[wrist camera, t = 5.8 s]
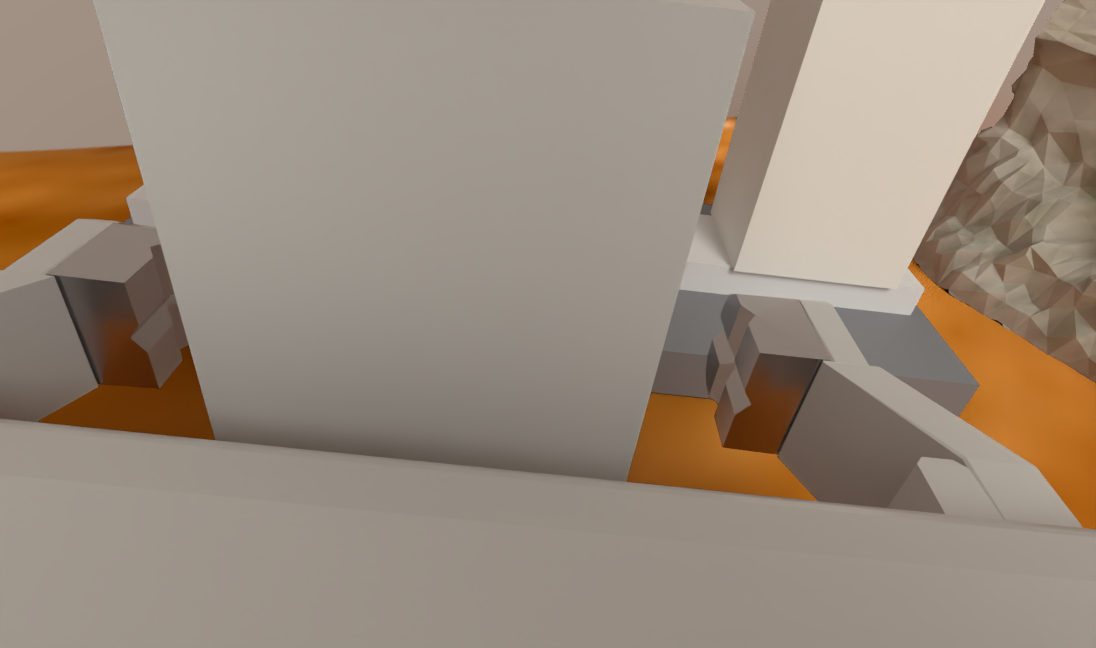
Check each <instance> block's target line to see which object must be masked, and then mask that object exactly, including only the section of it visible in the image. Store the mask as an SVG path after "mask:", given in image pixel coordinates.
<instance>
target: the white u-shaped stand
mask: <svg viewBox="0 0 1096 648" xmlns="http://www.w3.org/2000/svg"><path fill="white" fill-rule="evenodd" d="M1044 2H1045V0H771V2H770V5H769V9H768V12H767V16H766V19H765V23H764V26H763V30H762V33H761V37H760V41H759V44H758V47H757V51H756V54H755V58H754V62H753V66H752V68H751V72H750V76H749V79H748V83H747V86H746V89H745V93H744V97H743V100H742V103H741V107H740V110H739V114H738V117H737V121H736V124H735V128H734V131H733V135H732V138H731V142H730V145H729V149H728V152H727V156H726V159H725V163H724V166H723V170H722V173H721V177H720V180H719V184H718V187H717V191H716V194H715V198H714V201H713V205H709V204H703V205H702V208H701V212H700V215H699V219H698V223H697V226H696V230H695V234H694V237H693V241H692V245H691V248H690V252H689V255H688V259H687V263H686V266H685V270H684V274H683V277H682V281H681V284H680V288H679V292H678V295H677V299H676V303H675V306H674V310H673V314H672V317H671V321H670V324H669V328H668V332H667V335H666V339H665V343H664V346H663V350H662V354H661V357H660V361H659V364H658V368H657V372H656V375H655V379H654V383H653V386H652V390H651V392H653V393H662V394H672V395H681V396H691V397H700V398H710V399H712V398H711V397H710V396H709V394H708V390H707V386H706V374H705V372H706V363H707V355H708V352H709V349H710V345H711V342H712V339H713V338H714V337H716V336H717V335H718V334H719V333H721V332H722V331H723V330H724V327H723V324H722V321H721V318H720V315H721V312H722V309H723V306H724V303H725V301H726V300H727V298H728V296H729V295H730V294H743V295H754V296H766V297H777V298H788V299H799V300H812V301H826V302H828V303H829V304H831V305H833V307H834V308H835V310H836V312H837V313H838V315H839V317H840V318H841V320H842V322H843V323H844V325H845V327H846V328H847V330H848V331H849V333H850V335H851V336H852V338H853V340H854V341H855V343H856V345H857V346H858V348H859V350H860V351H861V353H862V355H863V356H864V358H865V359H866V361H867V363H868V364H869V366H877V367H881V368H882V369H884V370H885V371H887V372H888V373H890V374H892V375H893V376H895V377H896V378H898V379H899V380H901V381H903V382H904V383H906V384H907V385H909V386H910V387H912V388H913V389H915V390H917V391H918V392H920V393H921V394H923V395H924V396H926V397H928V398H929V399H931V400H932V401H934V402H935V403H937V404H938V405H940V406H942V407H943V408H945V409H946V410H948V411H949V412H951V413H953V414H954V415H956V416H957V417H959V415H960V414H961V412H962V411H963V409H964V408H965V406H966V405H967V403H968V402H969V400H970V399H971V397H972V396H973V394H974V393H975V391H976V390H977V388H978V387H979V386H980V385H979V383H978V382H977V381H976V380H975V378H974V377H973V376H972V375H971V373H970V372H969V371H968V370H967V368H966V367H965V366H964V365H963V363H962V362H961V361H960V359H959V358H958V357H957V356H956V354H955V353H954V352H953V351H952V349H951V348H950V347H949V346H948V344H947V343H946V342H945V341H944V339H943V338H942V337H941V336H940V334H939V333H938V332H937V330H936V329H935V328H934V327H933V325H932V324H931V323H930V322H929V320H928V319H927V318H926V317H925V315H924V314H923V313H922V312H921V310H920V309H919V308H918V307H917V305H916V304H917V302H918V301H919V299H920V297H921V295H922V293H923V291H924V290H925V288H924V287H923V286H922V285H921V283H920V282H919V281H918V280H917V279H916V278H915V276H914V275H913V274H912V273H911V272H910V270H909V269H908V266H909V264H910V262H911V260H912V258H913V257H914V255H915V253H916V251H917V249H918V247H919V245H920V243H921V241H922V239H923V237H924V235H925V233H926V231H927V229H928V227H929V225H930V223H931V222H932V220H933V218H934V216H935V214H936V212H937V210H938V208H939V206H940V204H941V202H942V200H943V198H944V196H945V194H946V192H947V190H948V188H949V187H950V185H951V183H952V181H953V179H954V177H955V175H956V173H957V171H958V169H959V167H960V165H961V163H962V161H963V159H964V157H965V155H966V153H967V151H968V150H969V148H970V146H971V144H972V142H973V140H974V138H975V136H976V134H977V132H978V130H979V128H980V126H981V124H982V122H983V120H984V118H985V116H986V114H987V112H988V111H989V109H990V107H991V105H992V103H993V101H994V99H995V97H996V95H997V93H998V91H999V89H1000V87H1001V85H1002V83H1003V81H1004V79H1005V78H1006V76H1007V74H1008V72H1009V70H1010V68H1011V66H1012V64H1013V62H1014V60H1015V58H1016V56H1017V54H1018V52H1019V50H1020V48H1021V46H1022V44H1023V42H1024V41H1025V38H1026V37H1027V35H1028V33H1029V31H1030V29H1031V27H1032V25H1033V23H1034V21H1035V19H1036V17H1037V15H1038V13H1039V11H1040V9H1041V8H1042V6H1043V3H1044ZM126 200H127V204H128V207H129V210H130V214H131V217H130V218H128V219H127V220H126V221H125V222H123V223H131V224H139V225H147V226H154V227H156V226H155V222H154V219H153V215H152V211H151V208H150V204H149V201H148V197H147V194H146V190H145V186H144V185H143V186H141V187H140V188H138V189H137V190H136V191H134V192H133V193H132V194H130V195H129V196H127V197H126Z"/></svg>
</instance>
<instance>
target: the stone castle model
mask: <svg viewBox="0 0 1096 648" xmlns="http://www.w3.org/2000/svg"><path fill="white" fill-rule="evenodd" d="M1012 92H1013V93H1014V99H1013V100H1012V102H1011V104H1010V105H1009V107H1008V109H1007V111H1006V112H1005V114H1004V116H1003V117H1002V118H1001V119H1000V120H999V121H998V123H997V124H996V125H995V126H994V127H989V128H987V129H984V130H981V132H980V133H979V134H978V135H977V136H976V137H975V138H974V140H973V142H972V144H971V146H970V148H969V150H968V151H967V153H966V155H965V157H964V159H963V161H962V163H961V165H960V167H959V169H958V171H957V173H956V175H955V177H954V179H953V181H952V183H951V185H950V187H949V188H948V190H947V192H946V194H945V196H944V198H943V200H942V202H941V204H940V206H939V208H938V210H937V212H936V214H935V216H934V218H933V220H932V222H931V223H930V225H929V227H928V229H927V231H926V233H925V235H924V237H923V239H922V241H921V243H920V245H919V247H918V249H917V251H916V253H915V255H914V257H913V259H914V261H915V262H916V264H919V266H920V269H921V270H922V271H923V272H924V273H925V274H926V275H927V276H928V277H929V278H930V279H931V280H932V281H933V282H934V283H936V284H937V285H938V286H939V287H940V288H943V289H949V294H950V295H952V296H953V297H955V298H956V299H958V300H960V301H962V302H964V303H966V304H968V305H969V306H970V307H972V308H973V309H975V310H977V311H978V312H980V313H981V314H983V315H985V316H987V317H988V318H990V319H993V320H997V321H999V322H1000V323H1002V324H1003V327H1005V328H1007V329H1009V330H1011V331H1012V332H1014V333H1016V334H1017V335H1019V336H1021V337H1022V338H1024V339H1025V340H1027V341H1028V342H1029V343H1031V344H1032V345H1034V346H1035V347H1037V348H1039V349H1040V350H1042V351H1043V352H1045V353H1046V354H1048V355H1049V356H1051V357H1053V358H1055V359H1057V360H1059V361H1061V362H1063V363H1065V364H1067V365H1068V366H1070V367H1071V368H1073V369H1075V370H1076V371H1078V372H1079V373H1081V374H1082V375H1084V376H1086V377H1087V378H1089V379H1090V380H1092V381H1094V382H1095V383H1096V0H1064V1H1063V2H1062V3H1061V4H1060V5H1059V6H1058V7H1057V8H1056V9H1055V11H1054V12H1053V14H1052V15H1051V16H1050V18H1049V19H1048V20H1047V23H1046V25H1045V27H1044V29H1043V30H1042V32H1041V33H1040V34H1039V35H1038V36H1037V37H1036V39H1035V47H1034V54H1033V57H1032V59H1031V60H1030V61H1029V64H1028V67H1027V70H1026V71H1025V72H1024V73H1023V74H1022V75H1021V76H1020V77H1019V78H1018V79H1017V80H1016V81H1015V82H1014V84H1013V85H1012Z"/></svg>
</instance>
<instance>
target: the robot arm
mask: <svg viewBox="0 0 1096 648" xmlns="http://www.w3.org/2000/svg"><path fill="white" fill-rule="evenodd" d="M720 318H721V321H722V324H723V327H724V330H723V331H722V332H721V333H719V334H718V335H717V336H716V337H714V338H713V339H712V342H711V345H710V349H709V352H708V355H707V363H706V372H705V374H706V386H707V390H708V394H709V396H710V397H711V398H712V399H713V400H714V401H715V402H716V403H717V404H718V406H717V409H716V412H715V415H714V417H715V421H716V425H717V429H718V432H719V436H720V440H721V443H722V447H723V448H731V449H739V450H746V451H754V452H762V453H769V454H777V455H778V456H777V457H778V458H779V459H780V460H781V461H782V463H783V464H784V465H785V466H786V467H787V468H788V469H789V470H790V471H791V472H792V473H793V474H794V476H795V477H796V478H797V479H798V480H799V481H800V482H801V483H802V484H803V485H804V486H805V487H806V488H807V490H808V491H809V492H810V493H811V494H812V495H813V496H814V497H815V498H816V499H817V500H818V501H810V500H801V499H791V498H781V497H771V496H761V495H751V494H741V493H731V492H721V491H712V490H702V489H692V488H682V487H672V486H662V485H652V484H642V483H632V482H622V481H612V480H602V479H593V478H583V477H573V476H563V475H553V474H543V473H533V472H523V471H513V470H503V469H493V468H484V467H474V466H464V465H454V464H444V463H434V462H424V461H414V460H405V459H395V458H385V457H375V456H365V455H355V454H345V453H336V452H326V451H316V450H306V449H296V448H286V447H276V446H267V445H257V444H247V443H237V442H227V441H217V440H207V439H197V438H188V437H178V436H168V435H158V434H148V433H138V432H128V431H119V430H109V429H99V428H89V427H79V426H69V425H59V424H49V423H40V422H37V421H39V420H41V419H42V418H44V417H46V416H48V415H50V414H51V413H53V412H55V411H57V410H58V409H60V408H62V407H64V406H66V405H67V404H69V403H71V402H73V401H74V400H76V399H78V398H80V397H81V396H83V395H85V394H87V393H89V392H90V391H92V390H94V389H96V388H97V387H98V386H99V385H98V384H104V385H117V386H130V387H142V388H155V389H160V387H161V386H162V385H163V384H164V382H165V381H166V380H167V379H168V377H169V376H170V375H171V374H172V373H173V371H174V370H175V369H176V368H177V366H178V365H179V364H180V363H181V361H182V360H183V358H182V355H181V351H180V349H182V348H184V347H186V346H188V345H189V344H188V340H187V337H186V333H185V330H184V326H183V322H182V319H181V315H180V312H179V308H178V304H177V301H176V297H175V294H174V290H173V287H172V283H171V279H170V276H169V272H168V269H167V265H166V262H165V258H164V254H163V251H162V247H161V244H160V240H159V236H158V233H157V229H156V227H154V226H147V225H139V224H131V223H120V222H118V221H110V220H99V219H77V220H75V221H74V222H72V223H71V224H70V225H68V226H67V227H65V228H64V229H62V230H61V231H59V232H58V233H56V234H55V235H54V236H52V237H51V238H49V239H48V240H46V241H45V242H43V243H42V244H40V245H39V246H38V247H36V248H35V249H33V250H32V251H30V252H29V253H27V254H26V255H24V256H23V257H22V258H20V259H19V260H17V261H16V262H14V263H13V264H11V265H10V266H9V267H7V268H6V269H4V270H0V648H1096V529H1087V528H1083V527H1082V525H1081V524H1080V523H1079V522H1078V520H1077V519H1076V518H1075V516H1074V515H1073V514H1072V513H1071V511H1070V510H1069V509H1068V507H1067V506H1066V505H1065V504H1064V502H1063V501H1062V500H1061V498H1060V497H1059V496H1058V494H1057V493H1056V492H1055V491H1054V489H1053V488H1052V487H1051V485H1050V484H1049V483H1048V482H1047V480H1046V479H1045V478H1044V476H1043V475H1042V474H1041V473H1040V471H1039V470H1038V469H1037V467H1035V466H1034V465H1032V464H1031V463H1029V462H1028V461H1026V460H1024V459H1023V458H1021V457H1020V456H1018V455H1017V454H1015V453H1014V452H1012V451H1010V450H1009V449H1007V448H1006V447H1004V446H1003V445H1001V444H999V443H998V442H996V441H995V440H993V439H992V438H990V437H989V436H987V435H985V434H984V433H982V432H981V431H979V430H978V429H976V428H974V427H973V426H971V425H970V424H968V423H967V422H965V421H963V420H962V419H960V418H959V417H957V416H956V415H954V414H953V413H951V412H949V411H948V410H946V409H945V408H943V407H942V406H940V405H938V404H937V403H935V402H934V401H932V400H931V399H929V398H928V397H926V396H924V395H923V394H921V393H920V392H918V391H917V390H915V389H913V388H912V387H910V386H909V385H907V384H906V383H904V382H903V381H901V380H899V379H898V378H896V377H895V376H893V375H892V374H890V373H888V372H887V371H885V370H884V369H882V368H881V367H877V366H869V364H868V363H867V361H866V359H865V358H864V356H863V355H862V353H861V351H860V350H859V348H858V346H857V345H856V343H855V341H854V340H853V338H852V336H851V335H850V333H849V331H848V330H847V328H846V327H845V325H844V323H843V322H842V320H841V318H840V317H839V315H838V313H837V312H836V310H835V308H834V307H833V305H831V304H829V303H828V302H826V301H812V300H799V299H788V298H777V297H766V296H754V295H743V294H730V295H729V296H728V298H727V300H726V301H725V303H724V306H723V309H722V312H721V315H720Z"/></svg>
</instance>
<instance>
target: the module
mask: <svg viewBox="0 0 1096 648" xmlns="http://www.w3.org/2000/svg"><path fill="white" fill-rule="evenodd" d="M93 4H94V7H95V11H96V15H97V18H98V22H99V25H100V29H101V33H102V36H103V39H104V43H105V47H106V50H107V54H108V58H109V61H110V65H111V68H112V72H113V75H114V79H115V82H116V86H117V90H118V93H119V97H120V101H121V104H122V108H123V111H124V115H125V118H126V122H127V126H128V129H129V133H130V136H131V140H132V143H133V147H134V151H135V154H136V158H137V161H138V165H139V169H140V172H141V176H142V179H143V183H144V186H145V190H146V194H147V197H148V201H149V204H150V208H151V211H152V215H153V219H154V222H155V226H156V229H157V233H158V236H159V240H160V244H161V247H162V251H163V254H164V258H165V262H166V265H167V269H168V272H169V276H170V279H171V283H172V287H173V290H174V294H175V297H176V301H177V304H178V308H179V312H180V315H181V319H182V322H183V326H184V330H185V333H186V337H187V340H188V344H189V347H190V351H191V355H192V358H193V362H194V365H195V369H196V372H197V376H198V380H199V383H200V387H201V390H202V394H203V398H204V401H205V405H206V408H207V412H208V415H209V419H210V423H211V426H212V430H213V433H214V437H215V440H217V441H227V442H237V443H247V444H257V445H267V446H276V447H286V448H296V449H306V450H316V451H326V452H336V453H345V454H355V455H365V456H375V457H385V458H395V459H405V460H414V461H424V462H434V463H444V464H454V465H464V466H474V467H484V468H493V469H503V470H513V471H523V472H533V473H543V474H553V475H563V476H573V477H583V478H593V479H602V480H612V481H622V482H626V481H627V477H628V473H629V470H630V466H631V463H632V459H633V455H634V452H635V448H636V444H637V441H638V437H639V434H640V430H641V426H642V423H643V419H644V415H645V412H646V408H647V404H648V401H649V397H650V394H651V390H652V386H653V383H654V379H655V375H656V372H657V368H658V364H659V361H660V357H661V354H662V350H663V346H664V343H665V339H666V335H667V332H668V328H669V324H670V321H671V317H672V314H673V310H674V306H675V303H676V299H677V295H678V292H679V288H680V284H681V281H682V277H683V274H684V270H685V266H686V263H687V259H688V255H689V252H690V248H691V245H692V241H693V237H694V234H695V230H696V226H697V223H698V219H699V215H700V212H701V208H702V205H703V201H704V197H705V194H706V190H707V186H708V183H709V179H710V175H711V172H712V168H713V165H714V161H715V157H716V154H717V150H718V146H719V143H720V139H721V135H722V132H723V128H724V125H725V121H726V117H727V113H728V110H729V106H730V102H731V99H732V95H733V92H734V88H735V84H736V81H737V77H738V74H739V70H740V66H741V63H742V59H743V55H744V52H745V48H746V45H747V41H748V37H749V34H750V30H751V26H752V23H753V19H754V16H755V12H754V11H753V10H752V9H750V8H749V7H748V6H746V5H745V4H744V3H742V2H741V1H740V0H93Z"/></svg>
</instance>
